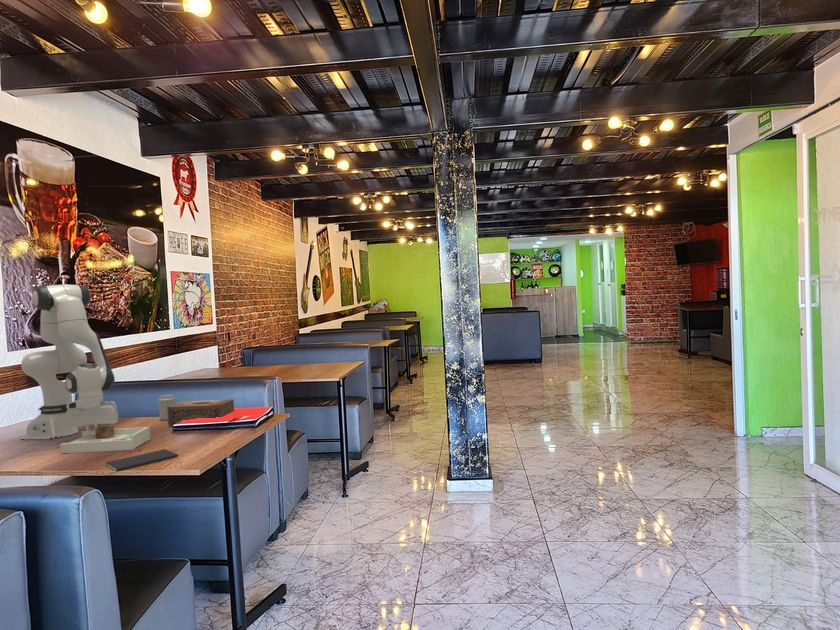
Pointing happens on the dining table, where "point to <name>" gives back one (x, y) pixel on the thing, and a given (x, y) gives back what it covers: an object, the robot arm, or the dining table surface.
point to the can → (165, 406)
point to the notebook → (140, 460)
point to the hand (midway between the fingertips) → (93, 435)
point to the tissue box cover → (199, 410)
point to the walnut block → (104, 432)
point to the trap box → (108, 441)
